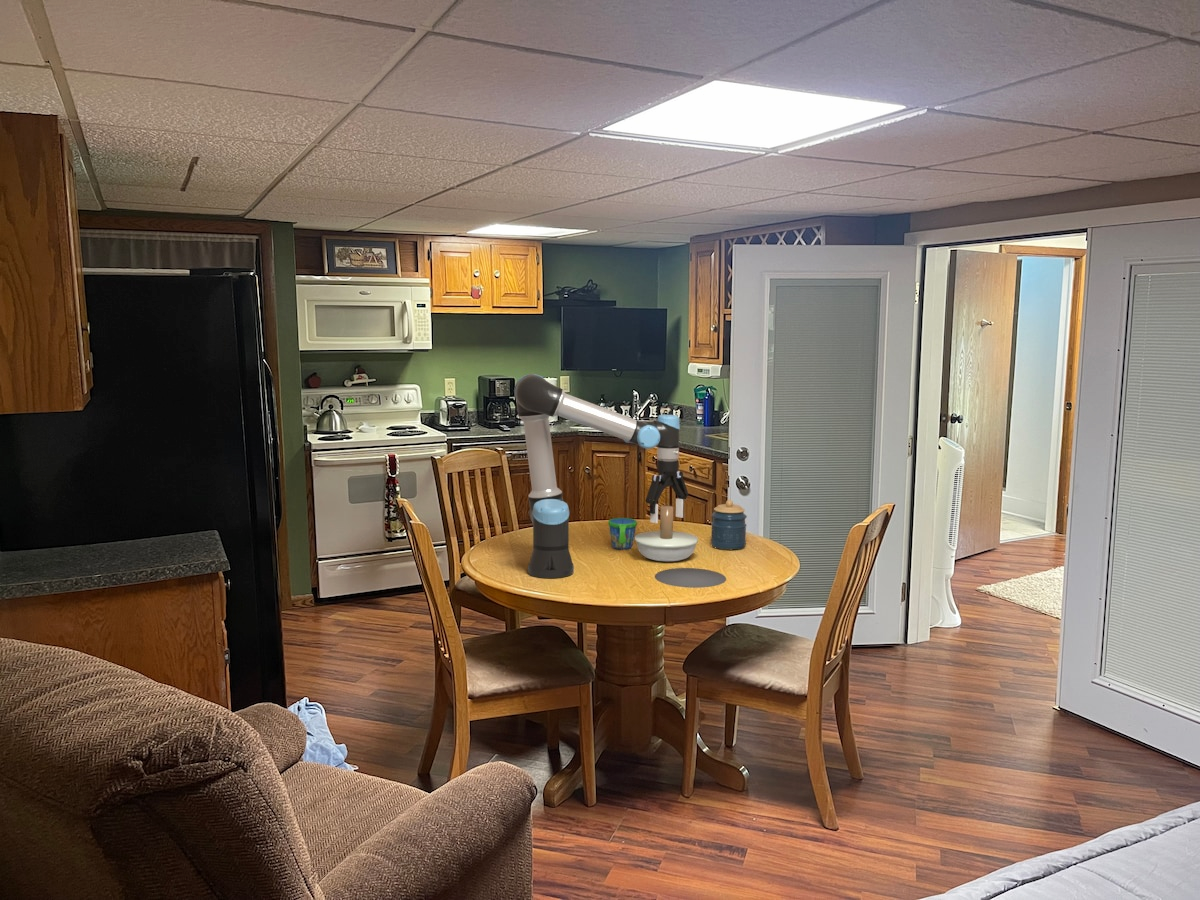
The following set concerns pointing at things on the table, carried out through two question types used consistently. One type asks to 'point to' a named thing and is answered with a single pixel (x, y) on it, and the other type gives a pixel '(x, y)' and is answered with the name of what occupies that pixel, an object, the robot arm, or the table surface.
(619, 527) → the snack cup
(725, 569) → the table surface
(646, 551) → the serving bowl
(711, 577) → the mat
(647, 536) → the lid
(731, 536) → the canister
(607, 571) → the table surface
